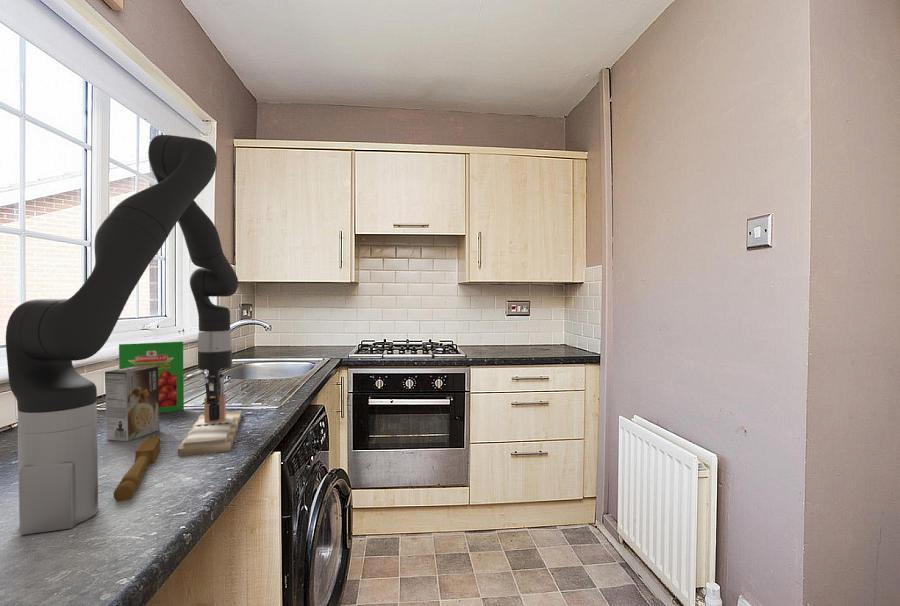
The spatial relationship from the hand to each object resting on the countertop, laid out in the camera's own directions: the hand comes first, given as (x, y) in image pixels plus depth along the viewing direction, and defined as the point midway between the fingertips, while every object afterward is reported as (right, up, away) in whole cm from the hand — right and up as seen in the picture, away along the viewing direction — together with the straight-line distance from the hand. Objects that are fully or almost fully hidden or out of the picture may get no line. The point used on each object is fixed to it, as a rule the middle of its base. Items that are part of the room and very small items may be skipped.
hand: (215, 417), depth 117 cm
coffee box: (-18, -3, -4) cm, 18 cm away
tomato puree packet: (-26, -3, +17) cm, 31 cm away
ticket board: (+1, -3, -2) cm, 4 cm away
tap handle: (-2, -4, -26) cm, 26 cm away
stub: (0, -2, 0) cm, 2 cm away
